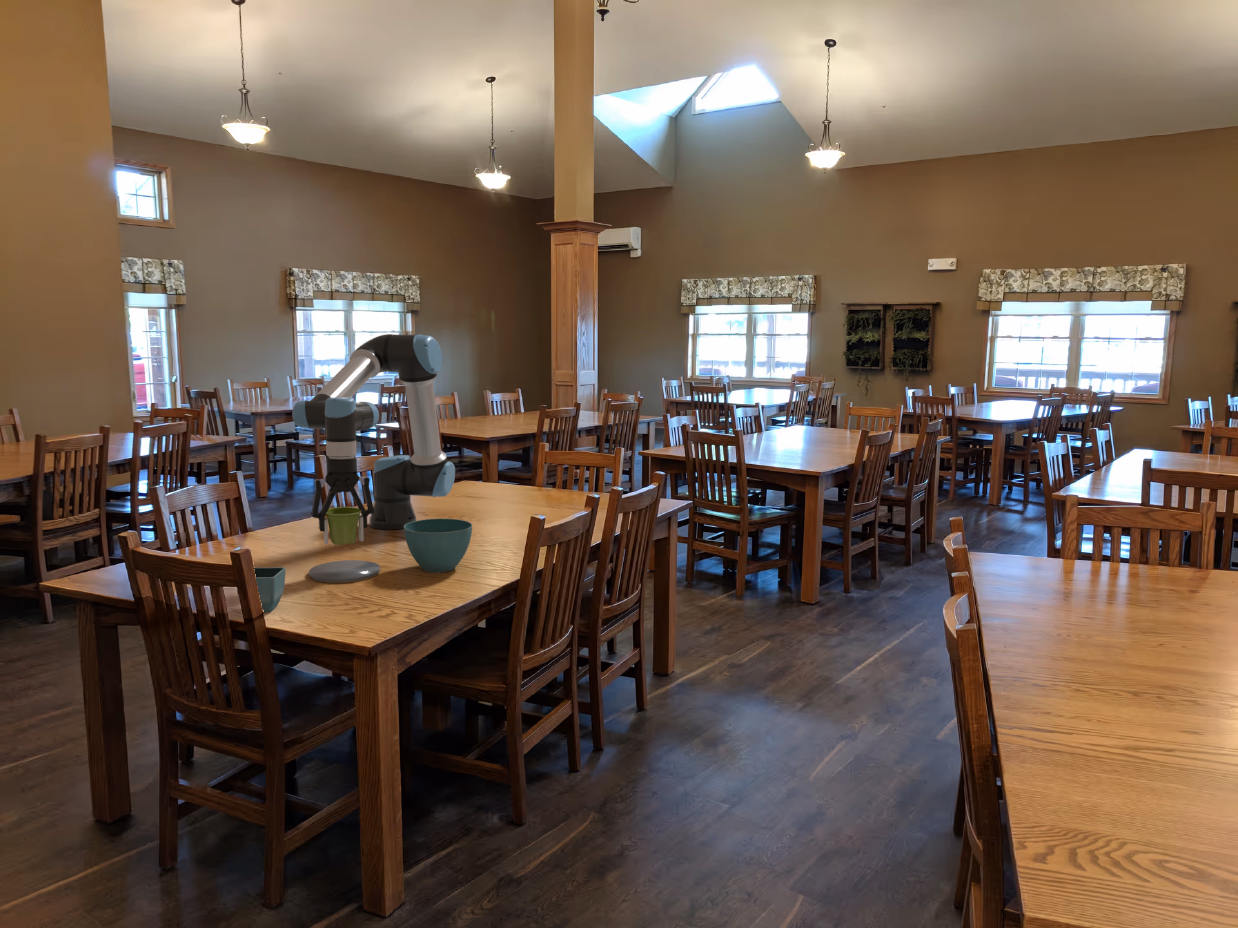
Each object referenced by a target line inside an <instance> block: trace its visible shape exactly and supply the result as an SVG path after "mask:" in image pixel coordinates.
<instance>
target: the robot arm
mask: <svg viewBox="0 0 1238 928" xmlns="http://www.w3.org/2000/svg"><path fill="white" fill-rule="evenodd" d="M442 362H443V355H442V349H441V347H440V344H439V343H438V341H437V340H436V339H435V338H434V337H433V336H431V335H427V334H426V335H424V334H419V333H418V334H393V333H391V334H390V333H389V334H388V333H387V334H381V335H377V336H376V337H373V338H371V339H369V340H367V341H365V342H364V343H362V344H361V345H360V346H359V347H358V348H356V349H355V350H353V352H352V353H351V354H350V357H349V361H348V362H347V363H346V364H345V365H344V366H343V367H341V369H340V370H339V371H338V372H337V373H336V374H334V376H333V377H332V378H331V379H330V380H329V381H328V382H327V384H325V385H324V386H323V387H322V388H321V389H320V390H319V391H318V392H317V393H316V394H315V395H314V396H313V397H312V398H311V399H310V400H307V399H305V400H298V401H297V402H296V403H294V406H293V407H292V420H293V422H294V424H295V426H297V427H298V428H302V429H303V428H304V429H310V430H314V429H315V430H316V429H319V430H325V444H326V447H325V448H326V449H325V450H326V452H325V453H326V456H327V458H326V475H325V476H324V478H320V479H318V478H314V481H313V483H314V487H315V489H314V490H315V491H314V495H313V502H312V507H311V513H310V515H311V516H312V518H313V519H318V529H319V532H323V543H324V544H325V545H329V525H328V519H327V517H326V513H327V512H328V509H330V508H331V504H332V502H333V499H334V497H335V496H336V495H337V494H339V493H350V495H351V497H352V498H353V500H354V503H355V504H356V506H357V508H359V510H360V511H361V513H360V516H359V518H358V540H359V541H360V542H364V540H365V539H364V529H367V527H368V517H369V515H370V517H369V527H370V528H373V529H377V530H404V525H406V524H407V523H410V522H414V521H417V516H416V513H415V510H414V508H413V504H412V502H411V501H412V500H411V496H417V497H418V496H419V497H433V498H436V497H437V498H439V497H440V498H441V497H446V496H447V495H449V494H450V492H451V490H452V489H453V486H454V483H455V478H456V467H455V464H454V463H453V462H451V461H448V458H447V457H448V456H447V454H446V453H445V452H444V451H442V448H441V438H440V432H439V431H440V430H439V421H438V415H437V405H436V398H435V389H434V381H435V380H436V378H437V377H438V374H437V373H440V371H441V369H442V366H443V364H442ZM387 372H388V373H389V372H390V373H398V379H399V382H401V383H402V384H404V386H405V393H406V394H405V395H406V402H407V410H408V416H409V425H410V431H411V439H412V447H413V454H412V456H410V455H408V454H407V455H406V454H402V455H401V454H400V455H392V456H385V457H380V458H378V459H376V460H375V461H374V463H373V473H372V474H373V488H374V490H373V491H374V492H373V494H374V495H373V496H374V503H373V500H372V495H371V490H370V481H371V479H370V478H369V477H368V476H367V475H366V476H359V474H358V459H357V458H356V456H357V455H358V454H357V452H358V451H357V432H360V431H367V430H369V429H371V428H374V427H375V426H376V425H377V424H378V422H379V420H380V412H379V410H378V407H377V406H376V405H375V404H373V403H372V402H369V401H359V402H356V400H355V399H354V398H353V397H354V396H355V394H357V392H358V391H359V390H360V389H361V388H362V387H363V386H364V385H365V384H366V383H367V382H368V380H369V379H372V378H375V377H376V376H377V375H379V374H380V373H387ZM358 482H359V484H360V485H361V486H362V489H363V490H362V491H363V493H364V494H363V495H364V498H365V503H366V507H367V509H365V505H364V504H363V502H362V501H361V499H360V497H359V494H358V493H357V491H356V488H355V486H356V485H357V484H358ZM325 484H327V485H328V486H329V487H330V488H329V490H328V492H327V495H326V498H325V500H324V502H323V504H322V506H321V509H320V502H321V497H322V496H321V495H322V490H323V489H322V488H324V486H325ZM319 509H320V511H319Z"/></svg>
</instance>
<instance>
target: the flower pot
mask: <svg viewBox="0 0 1238 928" xmlns="http://www.w3.org/2000/svg"><path fill="white" fill-rule="evenodd" d="M253 568H254V569H255V574H256V582H257V586H258V592H259V595H260V600H261V603H262V609H263V610H264V612H263V613H271V612H272V611H274V610H275V608H276V607H277V606H278V605H279V603H280V602H281V599H282V596H283V594H284V590H285V581H286V569H287V568H286V567H284V566H283V567H277V566H276V567H272V566H271V567H253ZM236 592H237V593H236V594H238V591H237V590H236ZM237 598H238V599H239V597H238V596H237Z"/></svg>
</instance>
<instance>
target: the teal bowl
mask: <svg viewBox="0 0 1238 928" xmlns="http://www.w3.org/2000/svg"><path fill="white" fill-rule="evenodd" d="M403 532H404V538H405V542H406V545H407V547H408V550H409V552H410V554H411V556H412V558H413V559H414V560H415V562H416V563H417V564H418V565H419V567H420V568H421V569H422V570H423V571H425V572H428V573H435V574H437V573H438V572H440V573H447V571H448V572H451V571H453V570H455V568H456V567H457V566H459V563H460V562H461V561H462V559H463V558H464V556H465V555H466V553H467V551H468V548H469V546H470V542H471V537H472V533H473V524H472V522H470V521H467V520H463V519H457V518H456V519H455V518H428V519H427V518H425V519H419V520H416V521H414V522H410V523H407V524H406V525H404V528H403ZM450 570H451V571H450Z"/></svg>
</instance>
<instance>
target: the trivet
mask: <svg viewBox="0 0 1238 928" xmlns="http://www.w3.org/2000/svg"><path fill="white" fill-rule="evenodd" d="M380 571H381V565H379V564H378V563H376V562H374V561H373V562H372V561H370V560H369V561H368V560H360V559H357V560H355V559H354V560H353V559H349V560H348V559H347V560H335V561H329V562H324V563H321V564H317V565H315V566H313V567H311V568H310V569H309V571H308V575H309V577H310V578H311V579H312V580H313V581H317V582H322V583H328V584H329V583H330V584H331V583H332V584H343V583H346V584H347V583H354V582H360V581H366V580H369V579H371V578H373V577H375V576H377V575H378V574H379V572H380Z"/></svg>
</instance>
